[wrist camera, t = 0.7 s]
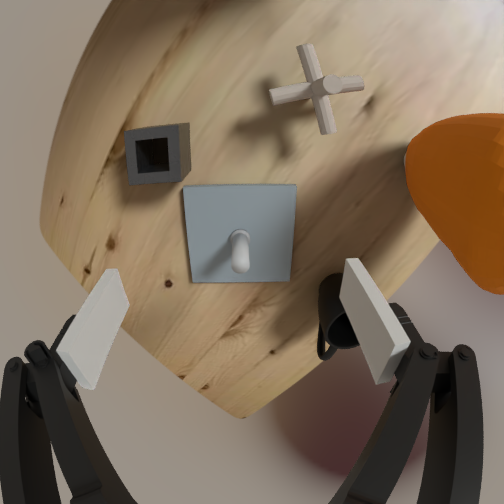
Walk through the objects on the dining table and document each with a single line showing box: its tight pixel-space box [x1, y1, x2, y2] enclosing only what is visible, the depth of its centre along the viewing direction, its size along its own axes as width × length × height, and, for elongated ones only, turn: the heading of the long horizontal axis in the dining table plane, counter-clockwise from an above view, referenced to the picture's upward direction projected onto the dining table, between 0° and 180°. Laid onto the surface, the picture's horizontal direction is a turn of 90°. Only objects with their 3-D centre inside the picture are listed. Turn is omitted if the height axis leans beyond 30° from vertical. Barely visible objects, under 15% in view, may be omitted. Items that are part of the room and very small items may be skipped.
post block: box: [183, 184, 297, 283], centre depth 34 cm, size 14×14×8 cm
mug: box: [317, 273, 360, 361], centre depth 39 cm, size 8×12×10 cm
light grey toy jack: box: [269, 44, 364, 135], centre depth 24 cm, size 10×10×10 cm
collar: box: [124, 123, 191, 185], centre depth 28 cm, size 6×6×6 cm
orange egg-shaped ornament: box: [404, 113, 504, 295], centre depth 21 cm, size 17×17×25 cm
